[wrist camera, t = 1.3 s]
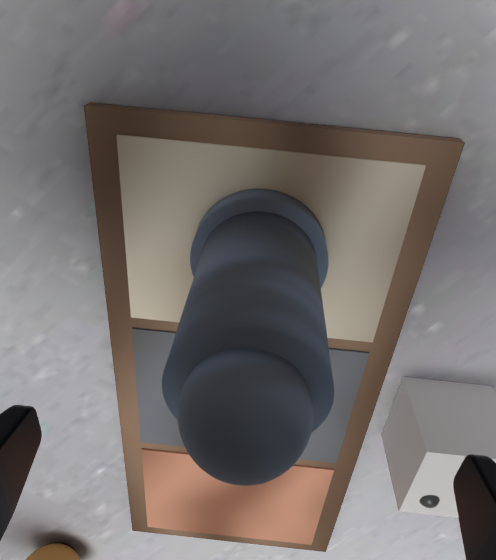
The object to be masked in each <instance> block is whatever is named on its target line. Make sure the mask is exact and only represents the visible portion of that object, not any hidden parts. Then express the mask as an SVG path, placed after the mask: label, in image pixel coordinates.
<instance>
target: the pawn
mask: <svg viewBox="0 0 496 560" xmlns="http://www.w3.org/2000/svg"><path fill="white" fill-rule="evenodd" d="M190 266H191V270H192V274H193V277H194V278H193V281H192V284H191V287H190V290H189V293H188V297H187V300H186V303H185V306H184V309H183V312H182V315H181V318H180V322H179V325H178V328H177V331H176V334H175V337H174V340H173V343H172V346H171V350H170V353H169V356H168V359H167V362H166V365H165V368H164V372H163V376H162V392H163V396H164V400H165V402H166V404H167V406H168V408H169V410H170V411H171V413H172V414H173V416H174V417H175V418H176V419H177V420H178V427H179V432H180V436H181V439H182V441H183V444H184V446H185V448H186V450H187V452H188V454H189V455H190V457H191V458H192V459H193V461H194V462H195V463H196V464H197V465H198V466H199V467H200V468H201V469H202V470H203V471H205V472H206V473H207V474H209V475H210V476H212V477H213V478H215V479H217V480H220V481H222V482H225V483H229V484H233V485H239V486H250V485H258V484H263V483H266V482H269V481H271V480H273V479H275V478H277V477H279V476H281V475H282V474H284V473H285V472H286V471H288V470H289V469H290V468H291V467H292V466H293V465H294V464H295V463H296V462H297V460H298V459H299V458H300V457H301V455H302V453H303V452H304V450H305V448H306V446H307V444H308V441H309V439H310V436H311V433H312V432H314V431H315V430H316V429H317V428H318V427H319V426H320V425H321V424H322V423H323V422H324V420H325V419H326V418H327V416H328V414H329V413H330V411H331V408H332V405H333V401H334V383H333V375H332V368H331V361H330V353H329V346H328V339H327V331H326V324H325V317H324V309H323V302H322V295H321V287H322V286H323V283H324V281H325V279H326V275H327V272H328V251H327V246H326V240H325V235H324V232H323V229H322V226H321V224H320V223H319V221H318V219H317V218H316V216H315V215H314V213H313V212H312V211H311V210H310V209H309V208H308V207H307V206H306V205H305V204H303V203H302V202H301V201H299V200H298V199H296V198H294V197H293V196H290V195H288V194H286V193H283V192H280V191H276V190H271V189H258V188H257V189H247V190H242V191H238V192H236V193H233V194H230V195H228V196H226V197H224V198H222V199H221V200H220V201H218V202H217V203H215V204H214V205H213V206H212V207H211V208H210V209H209V210H208V211H207V213H206V214H205V215H204V217H203V218H202V220H201V222H200V224H199V227H198V229H197V232H196V234H195V237H194V240H193V242H192V247H191V252H190Z"/></svg>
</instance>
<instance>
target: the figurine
mask: <svg viewBox="0 0 496 560" xmlns="http://www.w3.org/2000/svg"><path fill="white" fill-rule="evenodd" d="M26 560H80V558H79V556H78V554H77V553H76V552H75V551H74V550H73V549H72V548H71V547H69V546H67V545H64V544H59V543H54V544H48V545H45V546H43V547H41V548H39V549H37V550H36V551H34V552H33V553H32V554H31V555H30V556H29V557H28V558H27V559H26Z"/></svg>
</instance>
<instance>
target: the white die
mask: <svg viewBox="0 0 496 560" xmlns="http://www.w3.org/2000/svg"><path fill="white" fill-rule="evenodd" d="M381 436H382V440H383V444H384V449H385V453H386V457H387V462H388V466H389V471H390V475H391V479H392V484H393V488H394V492H395V497H396V501H397V506H398V510H399V512H408V513H417V514H426V515H435V516H444V517H454V518H459V517H458V511H457V506H456V500H455V495H454V489H453V481H454V477H455V475H456V473H457V471H458V469H459V468H460V466H461V464H462V462H463V460H464V458H465V457H466V456H467V455H469V454H474V455H483V456H488V457H489V458H491V459H492V460H493V461H494V462H495V463H496V393H495V391H494V389H493V387H492V386H486V385H476V384H467V383H457V382H448V381H438V380H428V379H419V378H409V377H403V378H402V380H401V383H400V386H399V388H398V391H397V394H396V396H395V399H394V402H393V405H392V407H391V410H390V413H389V415H388V418H387V421H386V424H385V426H384V429H383V432H382V434H381Z"/></svg>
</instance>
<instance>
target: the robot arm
mask: <svg viewBox="0 0 496 560" xmlns="http://www.w3.org/2000/svg"><path fill="white" fill-rule="evenodd" d="M41 436H42V435H41V428H40V424H39V420H38V417H37V413H36V410H35V409H34V408H33V407H31V406H23V405H14V406H12V407H10V408H8V409H7V410H5V411H4V412H3V413H1V414H0V541H1V538H2V536H3V534H4V532H5V530H6V528H7V526H8V524H9V522H10V520H11V518H12V516H13V513H14V511H15V508H16V506H17V503H18V501H19V498H20V495H21V493H22V490H23V487H24V485H25V482H26V479H27V477H28V474H29V471H30V469H31V466H32V463H33V461H34V458H35V455H36V453H37V450H38V447H39V445H40V442H41ZM453 489H454V495H455V500H456V506H457V511H458V517H459V522H460V528H461V533H462V539H463V544H464V550H465V555H466V560H496V463H495V462H494V461H493V460H492V459H491V458H489V457H488V456H483V455H474V454H469V455H467V456H466V457H465V458H464V460H463V462H462V464H461V466H460V468H459V469H458V471H457V473H456V475H455V477H454V481H453Z"/></svg>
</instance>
